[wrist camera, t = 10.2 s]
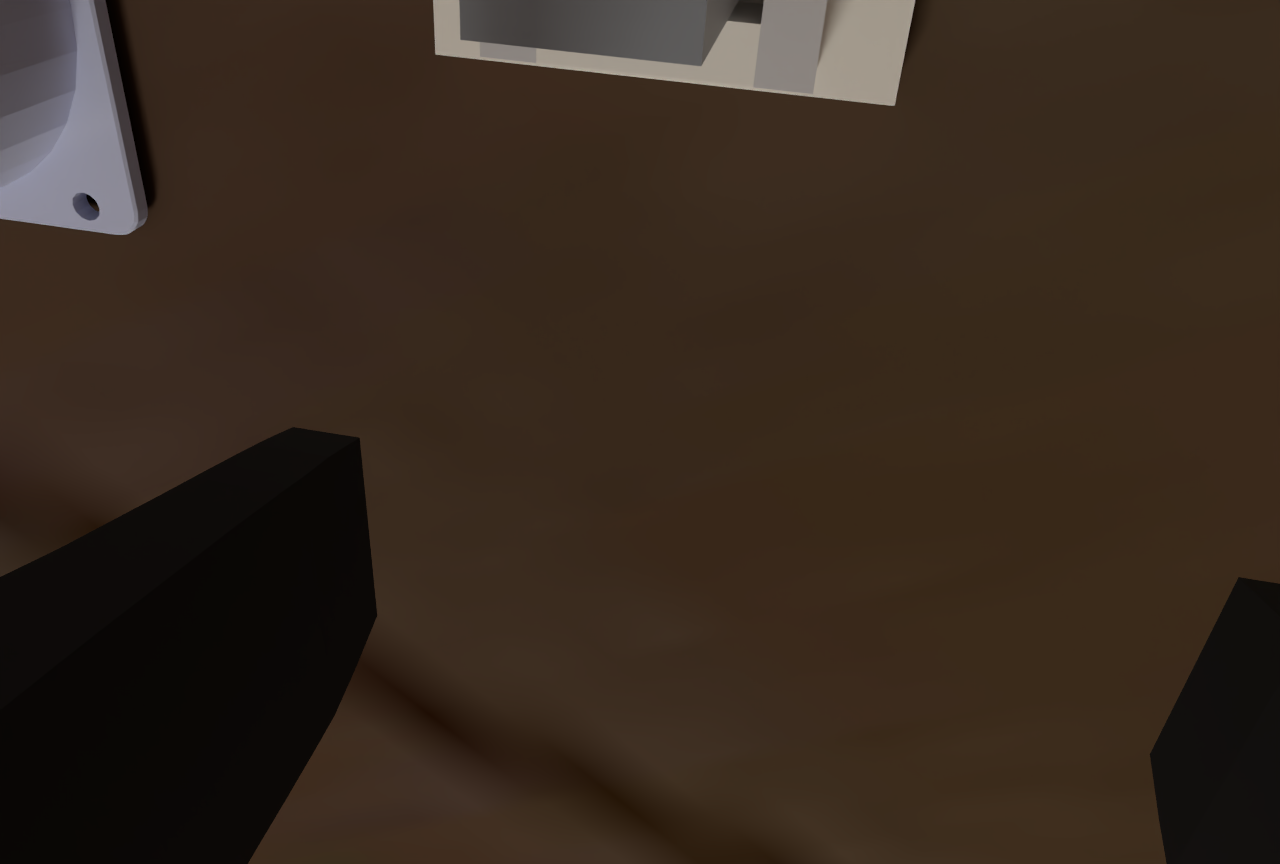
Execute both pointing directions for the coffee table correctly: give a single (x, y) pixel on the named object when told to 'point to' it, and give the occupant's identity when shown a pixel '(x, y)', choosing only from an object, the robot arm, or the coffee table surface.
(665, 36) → the block
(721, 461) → the coffee table surface
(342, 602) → the robot arm
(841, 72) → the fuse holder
